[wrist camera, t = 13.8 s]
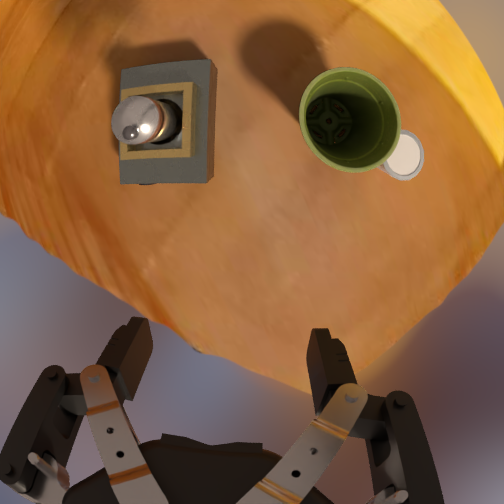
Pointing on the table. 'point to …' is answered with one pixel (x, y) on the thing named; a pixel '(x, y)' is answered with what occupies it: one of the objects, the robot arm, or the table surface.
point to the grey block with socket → (188, 130)
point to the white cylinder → (405, 157)
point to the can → (143, 120)
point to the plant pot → (350, 119)
